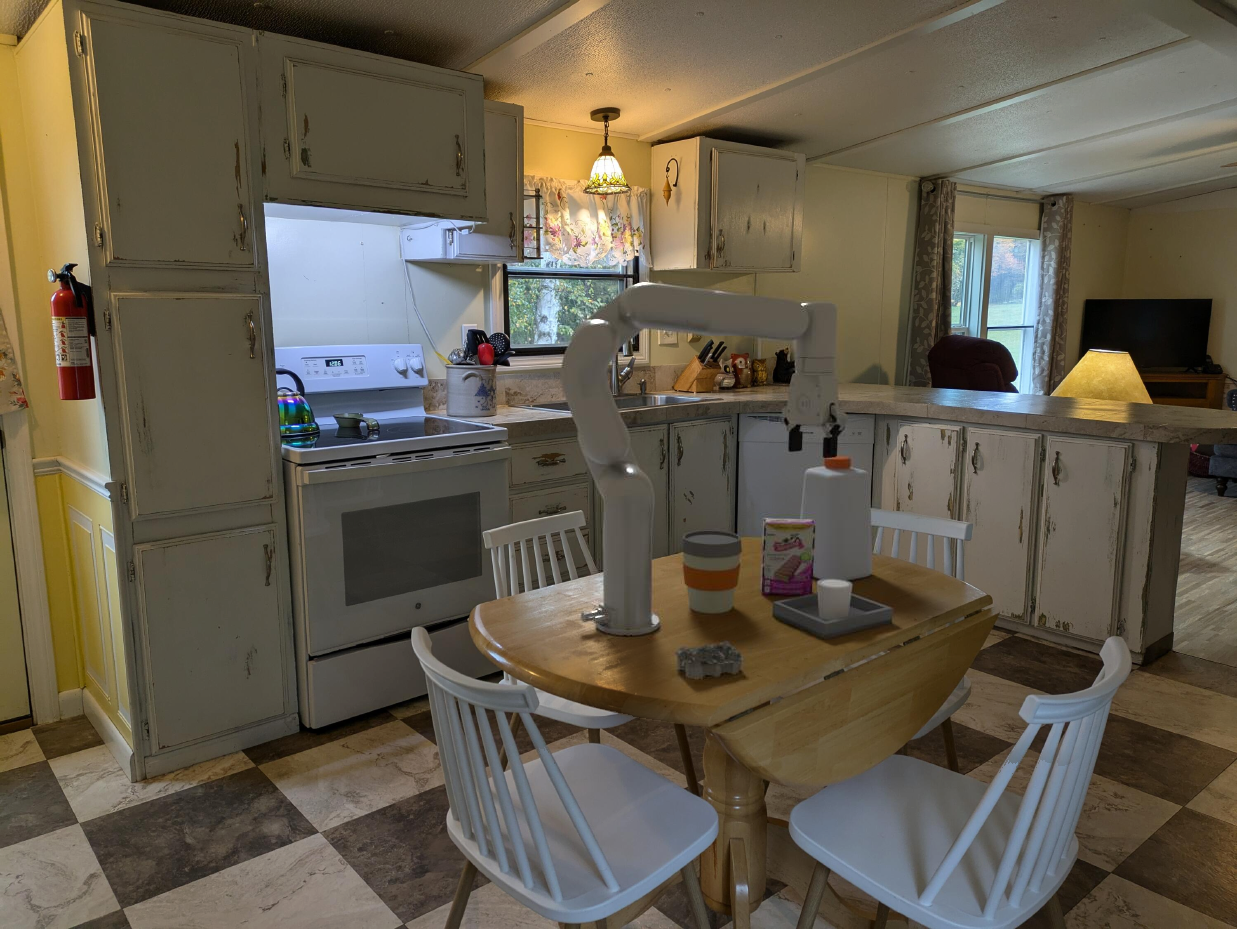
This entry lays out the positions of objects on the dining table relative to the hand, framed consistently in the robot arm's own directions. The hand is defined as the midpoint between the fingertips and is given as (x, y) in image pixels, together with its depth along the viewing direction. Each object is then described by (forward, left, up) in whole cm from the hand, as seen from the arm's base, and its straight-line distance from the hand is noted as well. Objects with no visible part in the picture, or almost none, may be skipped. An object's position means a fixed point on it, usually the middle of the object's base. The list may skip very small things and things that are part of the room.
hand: (812, 454), depth 166 cm
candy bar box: (+7, +14, -34) cm, 37 cm away
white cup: (+3, -5, -33) cm, 33 cm away
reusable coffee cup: (-13, +15, -34) cm, 39 cm away
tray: (+3, -4, -33) cm, 34 cm away
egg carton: (-33, -12, -34) cm, 49 cm away
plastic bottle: (+27, +20, -34) cm, 47 cm away
